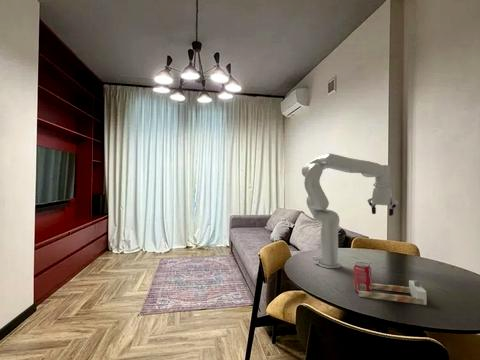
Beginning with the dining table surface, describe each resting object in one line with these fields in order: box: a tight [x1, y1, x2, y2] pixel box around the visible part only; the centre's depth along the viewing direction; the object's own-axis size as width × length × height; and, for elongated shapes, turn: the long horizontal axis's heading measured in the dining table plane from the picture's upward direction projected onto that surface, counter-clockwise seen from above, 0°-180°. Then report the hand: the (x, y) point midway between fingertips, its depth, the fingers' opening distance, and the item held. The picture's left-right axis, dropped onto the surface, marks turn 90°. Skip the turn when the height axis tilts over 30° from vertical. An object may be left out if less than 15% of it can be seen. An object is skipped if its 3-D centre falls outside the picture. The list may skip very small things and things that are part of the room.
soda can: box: [353, 261, 373, 294], centre depth 115 cm, size 7×7×12 cm
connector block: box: [408, 279, 428, 306], centre depth 109 cm, size 3×12×7 cm, turn 161°
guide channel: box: [358, 282, 425, 306], centre depth 112 cm, size 23×12×2 cm, turn 71°
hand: (382, 214), depth 157 cm, fingers open, 9 cm apart
